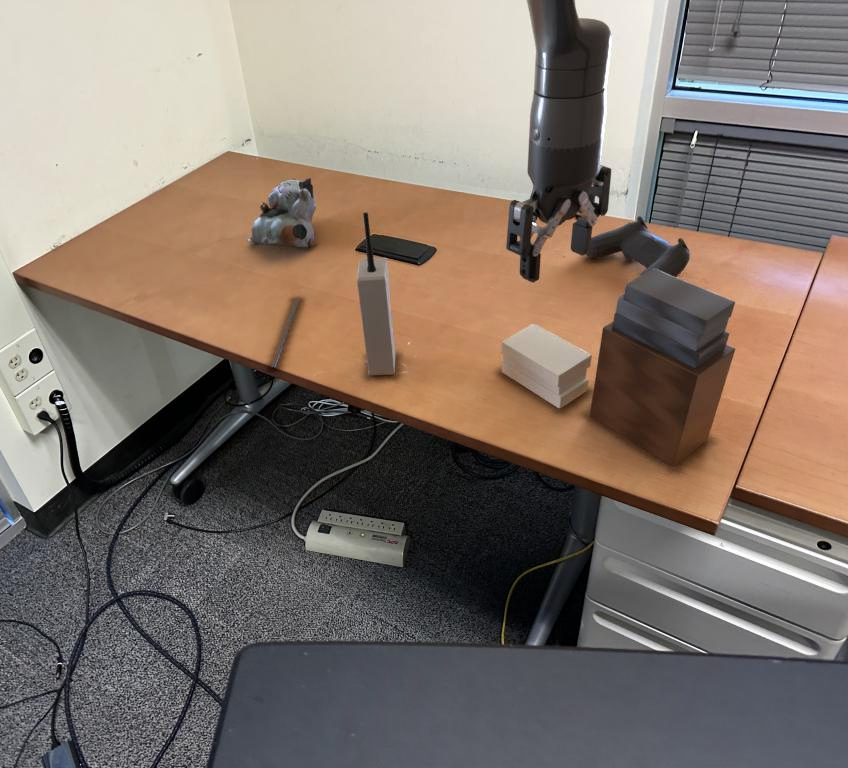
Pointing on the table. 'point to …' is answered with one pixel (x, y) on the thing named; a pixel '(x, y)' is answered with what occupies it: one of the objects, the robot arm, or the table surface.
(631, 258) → the gaming controller
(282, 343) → the rod
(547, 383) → the white stack
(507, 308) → the table surface
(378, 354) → the vintage mobile phone
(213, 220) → the table surface
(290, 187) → the lucky cat figurine
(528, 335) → the white book
